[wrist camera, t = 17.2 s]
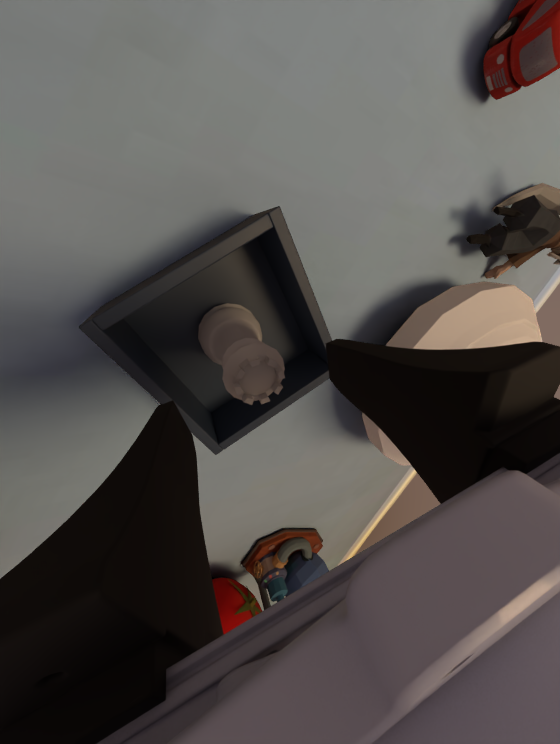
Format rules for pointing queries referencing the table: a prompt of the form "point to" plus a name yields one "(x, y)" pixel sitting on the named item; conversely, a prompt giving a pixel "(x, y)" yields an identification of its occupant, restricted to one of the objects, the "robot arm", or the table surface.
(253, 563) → the model
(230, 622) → the tomato
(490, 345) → the white vase
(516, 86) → the toy fire truck
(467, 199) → the table surface
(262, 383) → the rook chess piece
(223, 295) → the bin
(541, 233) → the toy
